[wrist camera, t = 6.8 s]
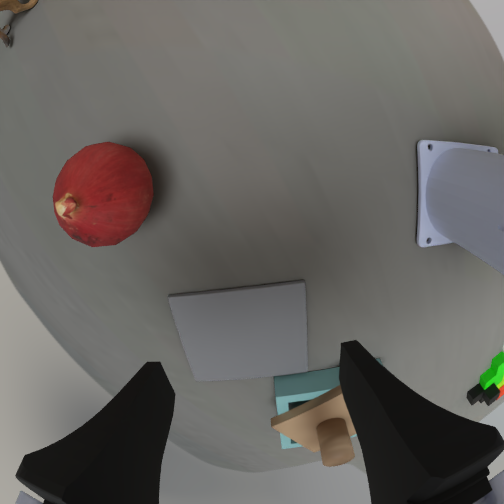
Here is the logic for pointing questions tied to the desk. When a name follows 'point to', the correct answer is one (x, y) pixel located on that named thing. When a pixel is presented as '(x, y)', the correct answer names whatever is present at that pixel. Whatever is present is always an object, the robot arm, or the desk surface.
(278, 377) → the dish
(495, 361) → the building blocks
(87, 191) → the pomegranate
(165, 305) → the desk surface
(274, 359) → the mat
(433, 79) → the desk surface
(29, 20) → the desk surface
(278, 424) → the lid
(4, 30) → the lion figurine
